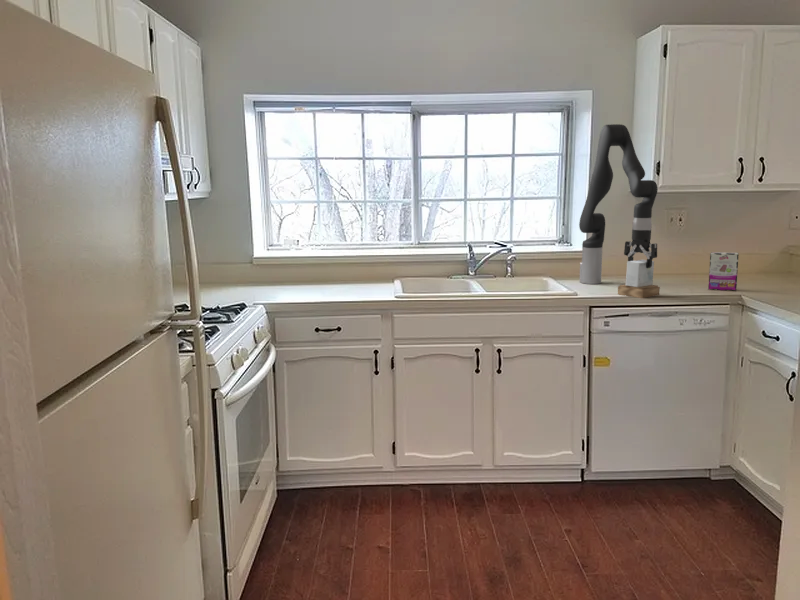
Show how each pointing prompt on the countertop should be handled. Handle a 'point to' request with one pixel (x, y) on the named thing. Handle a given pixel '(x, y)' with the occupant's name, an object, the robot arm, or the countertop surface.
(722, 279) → the candy bar box
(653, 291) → the oak plinth
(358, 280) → the countertop surface
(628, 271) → the skincare box
